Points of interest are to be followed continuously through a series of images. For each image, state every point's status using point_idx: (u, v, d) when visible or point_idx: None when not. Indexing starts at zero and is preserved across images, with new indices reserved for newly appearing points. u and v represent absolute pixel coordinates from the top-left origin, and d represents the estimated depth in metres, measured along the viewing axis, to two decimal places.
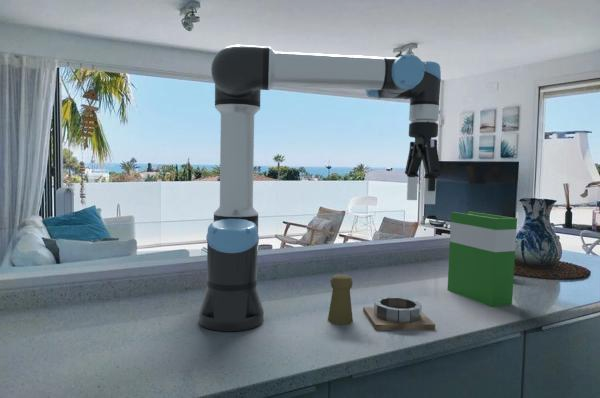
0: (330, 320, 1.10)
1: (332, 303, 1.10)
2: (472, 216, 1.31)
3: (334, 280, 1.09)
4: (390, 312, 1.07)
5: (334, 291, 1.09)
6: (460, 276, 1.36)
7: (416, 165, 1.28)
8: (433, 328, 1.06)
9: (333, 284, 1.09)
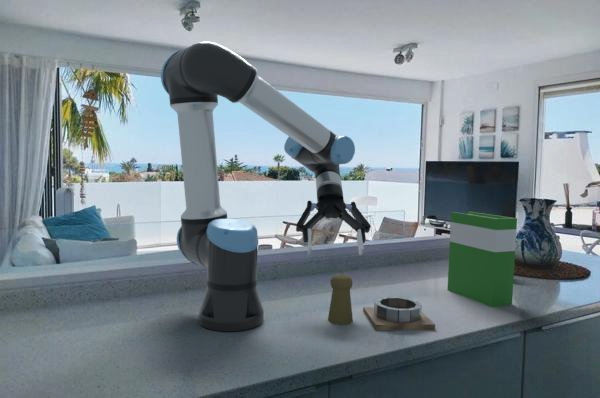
0: (330, 320, 1.10)
1: (332, 303, 1.10)
2: (472, 216, 1.31)
3: (334, 281, 1.09)
4: (390, 312, 1.07)
5: (334, 291, 1.09)
6: (460, 276, 1.36)
7: (315, 222, 1.27)
8: (433, 328, 1.06)
9: (333, 284, 1.09)
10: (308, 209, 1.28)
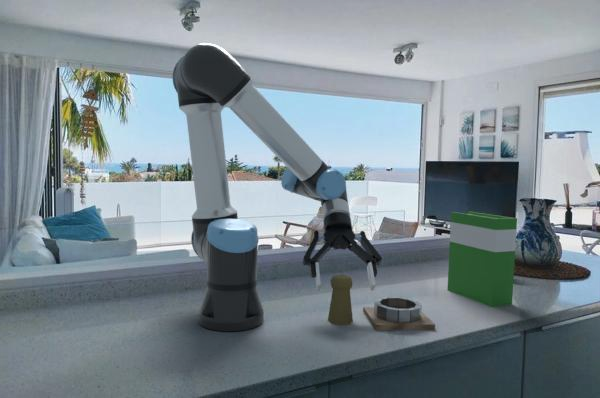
0: (330, 320, 1.10)
1: (332, 303, 1.10)
2: (472, 216, 1.31)
3: (334, 281, 1.09)
4: (390, 312, 1.07)
5: (334, 291, 1.09)
6: (460, 276, 1.36)
7: (323, 254, 1.19)
8: (433, 328, 1.06)
9: (333, 284, 1.09)
10: (315, 240, 1.20)
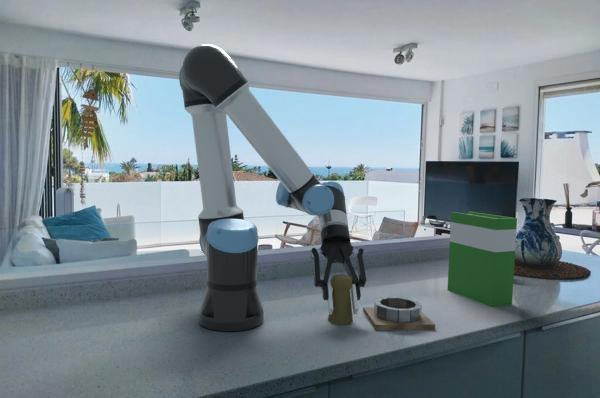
0: (330, 320, 1.10)
1: None
2: (472, 216, 1.31)
3: (334, 280, 1.09)
4: (390, 312, 1.07)
5: (334, 291, 1.09)
6: (460, 276, 1.36)
7: None
8: (433, 328, 1.06)
9: (333, 284, 1.09)
10: (317, 258, 1.15)
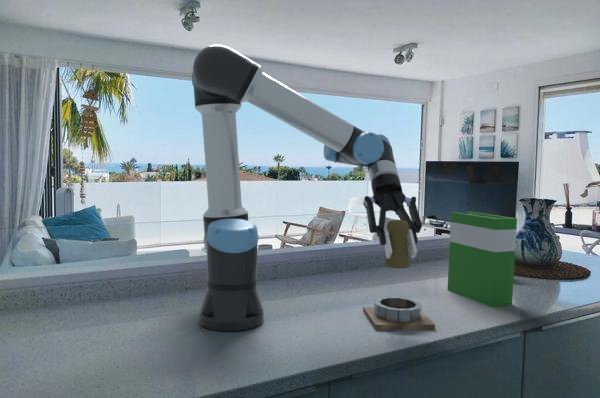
0: (387, 264, 1.10)
1: None
2: (472, 216, 1.31)
3: (391, 225, 1.09)
4: (390, 312, 1.07)
5: (391, 235, 1.10)
6: (460, 276, 1.36)
7: None
8: (433, 328, 1.06)
9: (390, 228, 1.09)
10: (371, 205, 1.15)
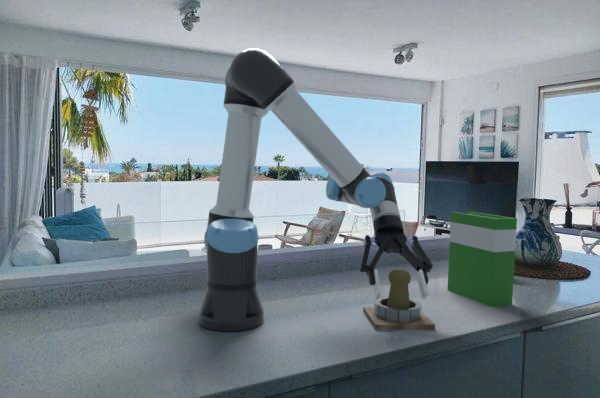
0: None
1: (391, 298, 1.11)
2: (472, 216, 1.31)
3: (393, 275, 1.10)
4: (390, 312, 1.07)
5: (393, 286, 1.11)
6: (460, 276, 1.36)
7: (378, 259, 1.15)
8: (433, 328, 1.06)
9: (392, 279, 1.10)
10: (368, 245, 1.16)
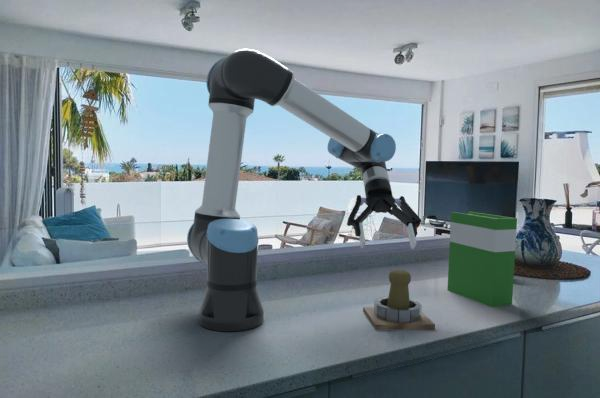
0: None
1: (391, 298, 1.11)
2: (472, 216, 1.31)
3: (393, 276, 1.10)
4: (390, 312, 1.07)
5: (393, 286, 1.11)
6: (460, 276, 1.36)
7: (366, 216, 1.27)
8: (433, 328, 1.06)
9: (392, 279, 1.10)
10: (358, 203, 1.28)
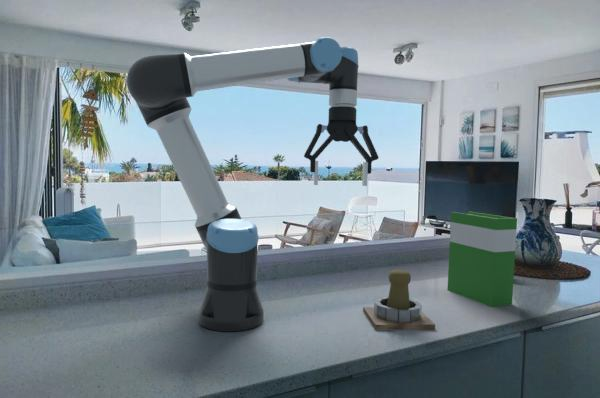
0: None
1: (391, 298, 1.11)
2: (472, 216, 1.31)
3: (393, 275, 1.10)
4: (390, 312, 1.07)
5: (393, 286, 1.11)
6: (460, 276, 1.36)
7: None
8: (433, 328, 1.06)
9: (392, 279, 1.10)
10: (318, 136, 1.24)
